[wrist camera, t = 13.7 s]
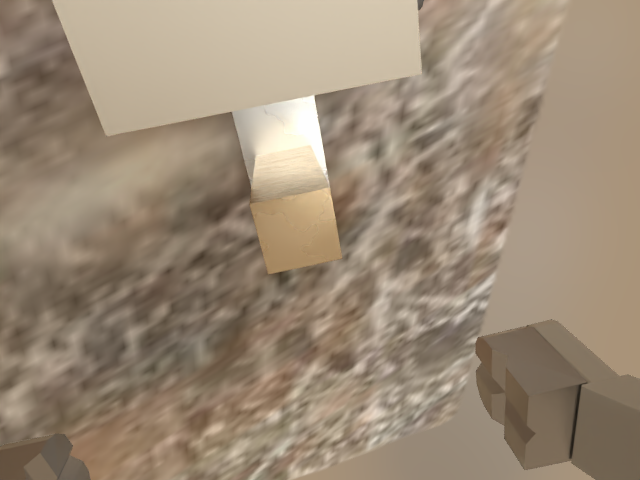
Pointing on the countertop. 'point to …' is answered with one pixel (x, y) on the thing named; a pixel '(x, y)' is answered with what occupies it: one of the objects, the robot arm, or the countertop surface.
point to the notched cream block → (231, 53)
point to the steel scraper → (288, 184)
